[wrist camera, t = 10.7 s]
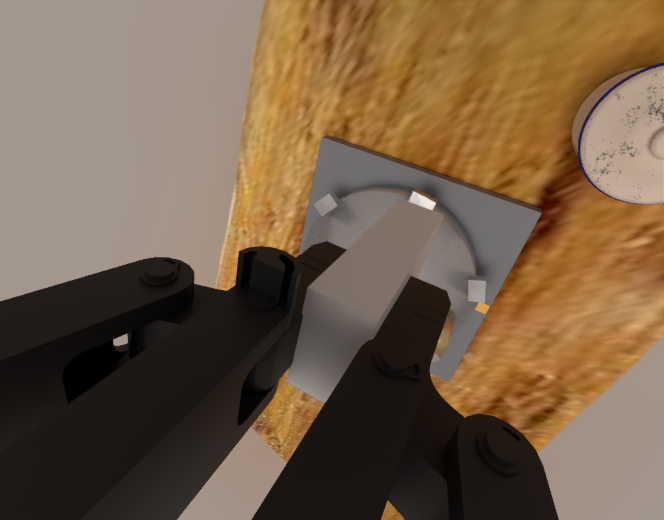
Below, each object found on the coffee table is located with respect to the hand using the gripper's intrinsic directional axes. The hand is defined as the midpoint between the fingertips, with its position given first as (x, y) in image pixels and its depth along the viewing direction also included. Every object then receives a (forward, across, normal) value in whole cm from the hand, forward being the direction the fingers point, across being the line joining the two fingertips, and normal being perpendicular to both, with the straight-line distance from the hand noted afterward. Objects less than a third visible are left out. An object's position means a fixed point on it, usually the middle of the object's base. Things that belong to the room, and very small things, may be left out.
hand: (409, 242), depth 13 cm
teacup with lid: (+30, +12, +4) cm, 32 cm away
